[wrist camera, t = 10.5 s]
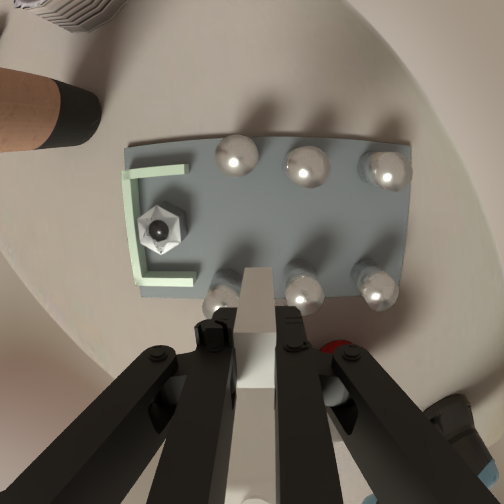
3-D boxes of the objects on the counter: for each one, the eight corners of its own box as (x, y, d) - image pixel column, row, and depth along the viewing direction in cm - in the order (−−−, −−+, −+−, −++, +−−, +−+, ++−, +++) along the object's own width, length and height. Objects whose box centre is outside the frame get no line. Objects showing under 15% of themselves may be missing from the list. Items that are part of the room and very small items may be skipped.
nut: (188, 246, 32) (181, 255, 29) (151, 246, 32) (141, 255, 29) (185, 199, 30) (177, 204, 27) (146, 201, 30) (136, 206, 27)
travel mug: (49, 136, 28) (-74, 146, 9) (71, 82, 26) (-49, 57, 7) (88, 156, 29) (-47, 175, 10) (113, 98, 27) (-17, 66, 8)
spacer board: (394, 290, 34) (397, 293, 33) (143, 294, 35) (141, 297, 34) (407, 146, 28) (411, 146, 27) (127, 148, 29) (124, 148, 28)
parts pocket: (197, 279, 33) (193, 286, 31) (141, 278, 33) (135, 285, 31) (188, 163, 29) (184, 164, 27) (129, 169, 29) (121, 170, 27)
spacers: (375, 293, 33) (393, 318, 27) (213, 297, 34) (204, 324, 28) (386, 144, 27) (412, 143, 22) (203, 141, 28) (190, 137, 22)
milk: (230, 409, 41) (213, 559, 16) (212, 355, 37) (172, 538, 13) (306, 400, 40) (327, 554, 15) (300, 344, 36) (331, 537, 12)
